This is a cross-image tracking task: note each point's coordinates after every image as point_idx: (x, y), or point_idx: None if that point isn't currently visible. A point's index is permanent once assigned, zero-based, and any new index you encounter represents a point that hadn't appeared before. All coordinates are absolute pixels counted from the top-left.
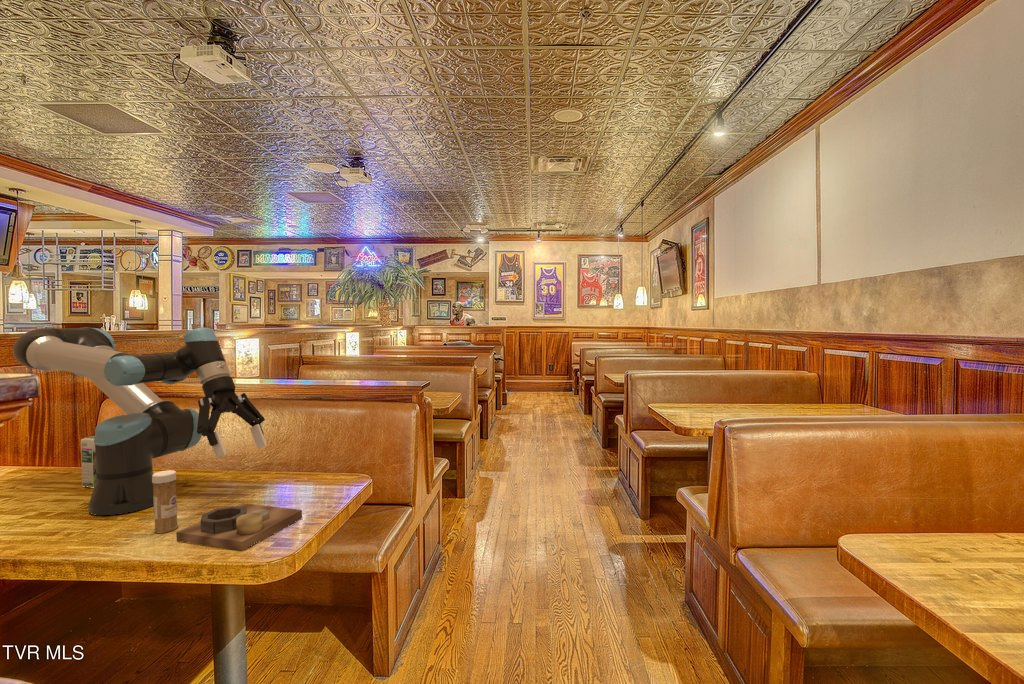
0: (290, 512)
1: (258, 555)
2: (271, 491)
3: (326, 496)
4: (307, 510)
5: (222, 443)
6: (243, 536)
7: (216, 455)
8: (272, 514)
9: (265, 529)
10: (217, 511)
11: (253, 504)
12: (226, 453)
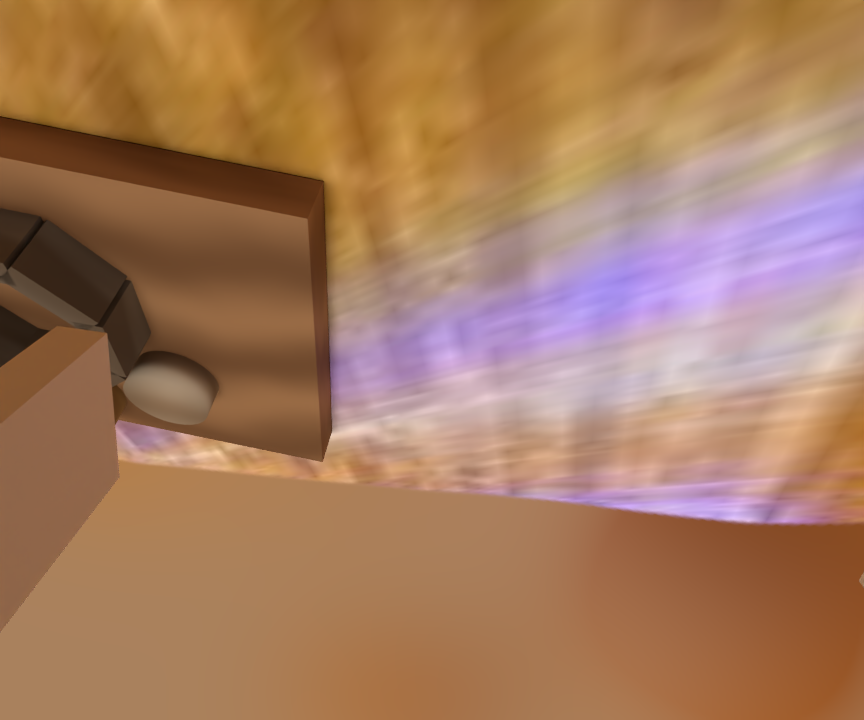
0: (285, 440)
1: None
2: (766, 168)
3: (603, 448)
4: (414, 427)
5: (4, 613)
6: None
7: (27, 366)
8: (238, 399)
9: (119, 419)
10: (5, 279)
11: (310, 287)
12: (111, 483)
